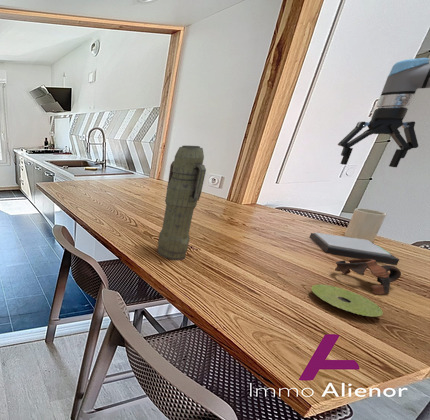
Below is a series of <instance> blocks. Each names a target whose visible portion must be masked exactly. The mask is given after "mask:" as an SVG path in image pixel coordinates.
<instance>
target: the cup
mask: <svg viewBox="0 0 430 420" xmlns="http://www.w3.org/2000/svg"><path fill="white" fill-rule="evenodd" d="M386 217H387V213H386V212H383V211H380V210H375V209H370V208H362V207H361V208H360V207H358V208H357V207H356V208H355V209H354V210H353V213H352V215H351V218H350V219H349V221H348V225H347V226H346V229H345V231H344V234H343V237H350V238H357V239H364V240H368V241H370V242H372V243H374V241H375V240H376V238H377V236H378V233H379V231H380V229H381V227H382V225H383V223H384V221H385V219H386Z"/></svg>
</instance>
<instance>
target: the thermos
mask: <svg viewBox="0 0 430 420" xmlns="http://www.w3.org/2000/svg"><path fill="white" fill-rule="evenodd" d="M204 158H205V155H204V148H203V147H201V146H199V145H182V146H179V147H178V149H177V151H176V153H175V155H174V159H173V161H172V162H171V163H170V166H169V173H168V179H167V180H168V181H167V187H166V193H165V200H164V202H165V209H164V216H163V221H162V228H161V230H160V232H159V235H158V240H157V250H156V252H157V254H159V256H161V257H163V258H165V259H169V260H173V261H181V260H184V259H186V254H187V252H188V249H189V243H190V240H191V239H190V229H191V224H192V220H193V216H194V209H195V208H196V207H197V204H198V202H199V201H200V198H201V195H202V190H203V186H204V183H205V177H206V171H207V169H206V166H205V164H204V160H205V159H204Z"/></svg>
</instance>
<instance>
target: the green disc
mask: <svg viewBox="0 0 430 420" xmlns="http://www.w3.org/2000/svg"><path fill="white" fill-rule="evenodd" d="M310 290H311V291H312V293H313V294H314V295H315V296H317V297H318V298H319V299H321V300H322V301H324V302H326V303H328V304H330V305H331V306H333V307H336V308H338V309H341V310H344V311H346V312H350V313H353V314H356V315H360V316H363V317H364V316H366V317H370V318H371V317H373V318H374V317H381V316H383V314H384V312H383V309H382V308H381V307H380V306H379V305H378V304H377V303H375V302H374V301H372V300H370V299H369V298H367V297H365V296H363V295H361V294H358V293H355V292H354V291H351V290H347V289H345V288H341V287H339V286H334V285H329V284H322V283H321V284H313V285H312V286H311V289H310Z"/></svg>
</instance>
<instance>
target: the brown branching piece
mask: <svg viewBox="0 0 430 420" xmlns="http://www.w3.org/2000/svg"><path fill="white" fill-rule="evenodd" d="M348 261H349V262H346V260H344V259H343V260H339V261H336V262H335V264H336V267H335V268H334V271H335V272H341V273H342V274H343V275H345V276H346V275H348V274H349V275H350V274H351V273H352V272H354V273H356V274H357V275H360V276H365V271H366V270H367V269H368V270H369V271H370V273H371V274H372V275H373V276H374V277H376V282H377V283H379V284H375V285H371V286H370V287H371V289H372V294H373V295H385V294H389V293H390V289H391V288H390V287H391V283H393V282H396V281H397V280H399V279H400V278H401V275H402V271H400V269H399V268H398V267H397V266H396V265H391V264H384V265H380V264H378V262H376V260H372V259H358V258H354V259H349V260H348ZM351 271H352V272H351Z"/></svg>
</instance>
